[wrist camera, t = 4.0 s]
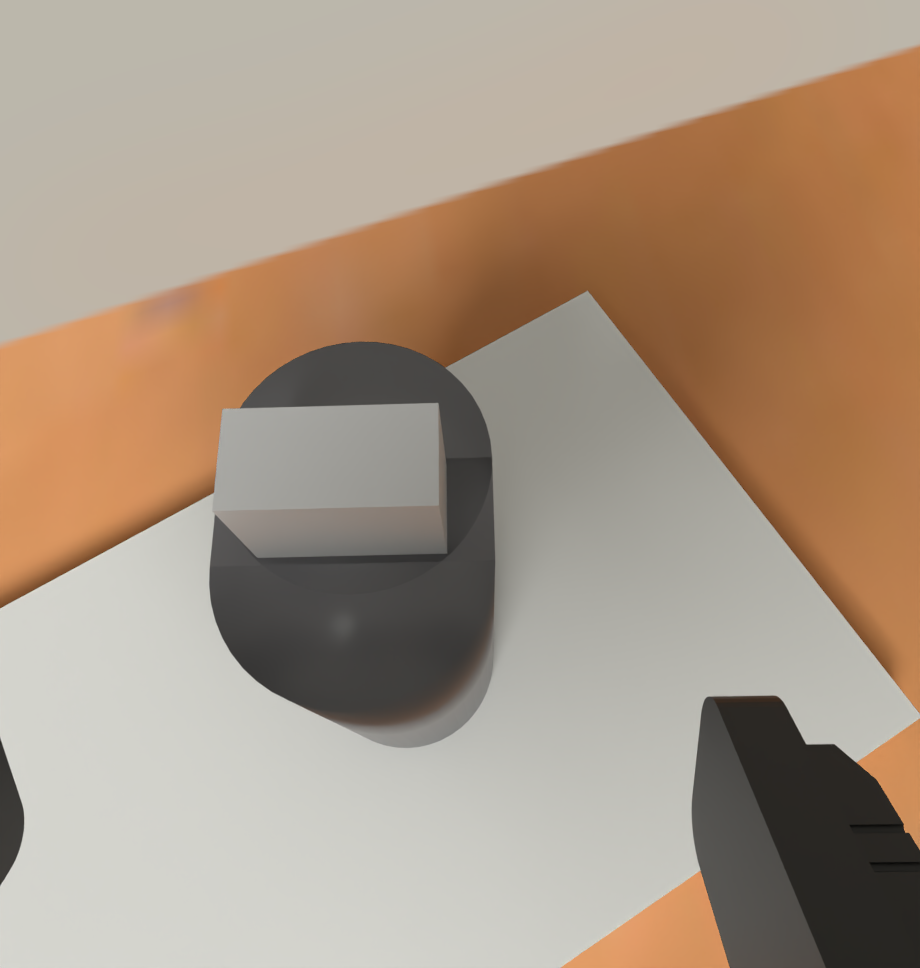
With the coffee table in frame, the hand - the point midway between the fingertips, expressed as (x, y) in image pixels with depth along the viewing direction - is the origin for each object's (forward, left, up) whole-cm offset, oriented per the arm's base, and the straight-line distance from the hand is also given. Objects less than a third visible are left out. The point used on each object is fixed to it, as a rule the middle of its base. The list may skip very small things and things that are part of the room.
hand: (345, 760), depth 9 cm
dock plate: (+1, +2, -9) cm, 9 cm away
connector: (+2, +3, -8) cm, 8 cm away
